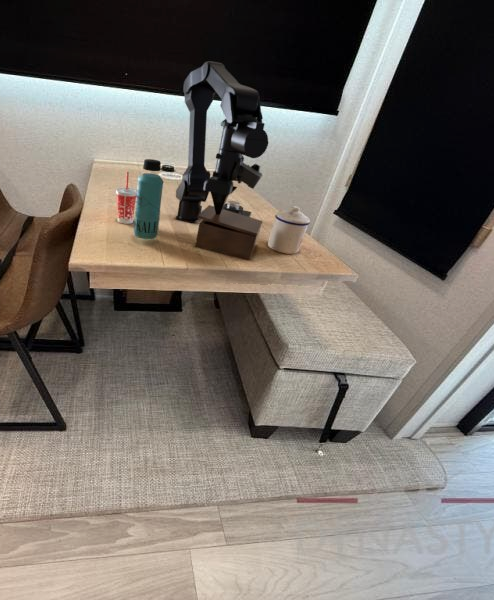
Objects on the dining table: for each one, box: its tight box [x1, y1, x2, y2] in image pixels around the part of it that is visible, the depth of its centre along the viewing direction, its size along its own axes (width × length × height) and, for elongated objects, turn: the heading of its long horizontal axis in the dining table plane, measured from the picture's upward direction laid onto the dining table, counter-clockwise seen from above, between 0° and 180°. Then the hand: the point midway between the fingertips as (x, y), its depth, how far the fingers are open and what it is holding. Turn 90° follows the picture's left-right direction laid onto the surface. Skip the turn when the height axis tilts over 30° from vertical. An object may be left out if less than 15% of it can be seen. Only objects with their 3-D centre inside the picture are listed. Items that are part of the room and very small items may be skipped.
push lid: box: [227, 200, 241, 209], centre depth 109 cm, size 4×4×2 cm
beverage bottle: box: [133, 158, 164, 240], centre depth 81 cm, size 6×7×20 cm
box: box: [195, 219, 263, 261], centre depth 88 cm, size 15×12×6 cm
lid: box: [197, 204, 263, 236], centre depth 86 cm, size 15×12×1 cm
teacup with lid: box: [267, 205, 311, 255], centre depth 91 cm, size 12×9×12 cm
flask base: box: [223, 202, 252, 217], centre depth 111 cm, size 12×10×4 cm
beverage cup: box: [115, 171, 137, 225], centre depth 94 cm, size 6×6×14 cm
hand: (218, 214), depth 87 cm, fingers closed, pressing on lid
